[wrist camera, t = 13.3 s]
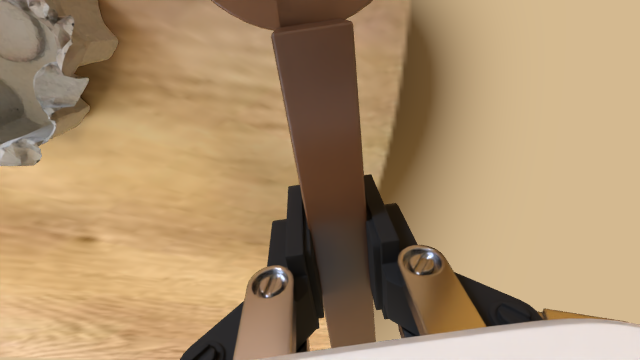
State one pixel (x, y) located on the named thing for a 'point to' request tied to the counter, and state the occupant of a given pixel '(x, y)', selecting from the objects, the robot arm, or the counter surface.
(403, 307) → the robot arm
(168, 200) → the counter surface
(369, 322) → the spoon
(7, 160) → the crystal geode chunk
